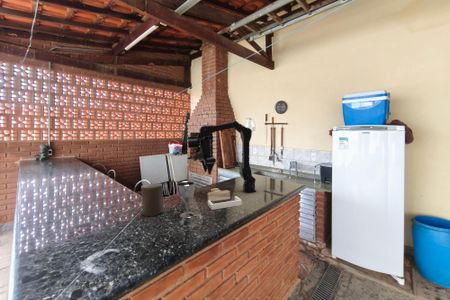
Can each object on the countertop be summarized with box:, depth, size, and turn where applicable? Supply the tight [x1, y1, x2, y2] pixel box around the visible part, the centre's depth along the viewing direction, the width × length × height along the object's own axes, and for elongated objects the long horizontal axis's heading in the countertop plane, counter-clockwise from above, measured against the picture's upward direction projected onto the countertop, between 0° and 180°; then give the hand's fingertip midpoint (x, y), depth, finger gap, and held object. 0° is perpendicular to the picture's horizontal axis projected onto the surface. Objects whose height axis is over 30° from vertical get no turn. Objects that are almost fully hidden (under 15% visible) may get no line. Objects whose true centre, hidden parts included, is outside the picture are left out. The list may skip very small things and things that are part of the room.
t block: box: [207, 187, 231, 202], centre depth 121 cm, size 11×12×4 cm
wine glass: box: [176, 180, 196, 219], centre depth 96 cm, size 8×8×15 cm
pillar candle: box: [140, 182, 165, 217], centre depth 101 cm, size 10×10×15 cm
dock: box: [207, 195, 243, 211], centre depth 108 cm, size 16×8×2 cm, turn 108°
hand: (207, 173), depth 124 cm, fingers open, 9 cm apart
